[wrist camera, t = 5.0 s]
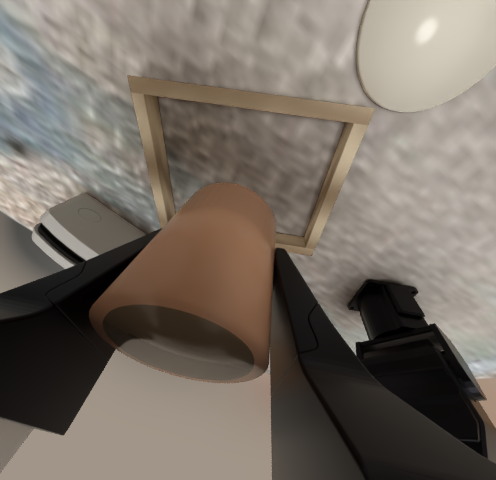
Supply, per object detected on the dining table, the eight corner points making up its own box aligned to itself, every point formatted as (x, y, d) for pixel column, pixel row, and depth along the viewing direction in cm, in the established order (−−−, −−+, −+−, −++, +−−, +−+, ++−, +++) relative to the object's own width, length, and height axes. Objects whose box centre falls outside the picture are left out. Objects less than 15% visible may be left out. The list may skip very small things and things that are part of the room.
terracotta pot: (267, 267, 12) (256, 395, 7) (189, 253, 12) (122, 366, 7) (285, 191, 9) (288, 322, 4) (179, 175, 9) (46, 276, 4)
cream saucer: (455, 119, 14) (463, 120, 14) (335, 103, 15) (337, 103, 14) (607, -110, 9) (632, -126, 8) (407, -124, 9) (416, -140, 9)
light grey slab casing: (74, 214, 26) (-10, 245, 17) (92, 189, 25) (12, 206, 16) (177, 280, 32) (156, 329, 22) (195, 261, 30) (180, 305, 21)
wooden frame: (309, 245, 23) (311, 256, 22) (169, 220, 24) (161, 229, 23) (365, 107, 15) (375, 108, 13) (143, 77, 16) (127, 75, 14)
